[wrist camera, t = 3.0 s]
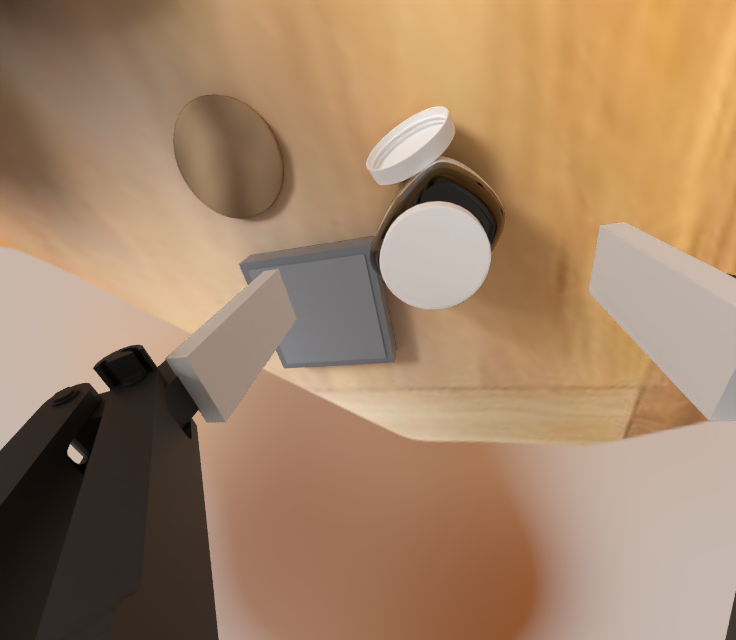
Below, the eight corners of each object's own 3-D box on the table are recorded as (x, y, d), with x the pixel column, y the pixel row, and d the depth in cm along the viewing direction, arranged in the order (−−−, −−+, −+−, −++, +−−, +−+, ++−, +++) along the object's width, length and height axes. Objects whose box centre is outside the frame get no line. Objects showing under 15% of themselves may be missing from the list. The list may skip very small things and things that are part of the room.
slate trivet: (291, 355, 41) (283, 369, 39) (250, 255, 34) (238, 264, 32) (396, 348, 38) (394, 363, 36) (374, 235, 31) (370, 244, 29)
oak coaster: (210, 223, 33) (205, 225, 32) (160, 111, 28) (152, 111, 27) (297, 206, 31) (293, 209, 30) (259, 81, 26) (254, 80, 25)
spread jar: (429, 278, 32) (430, 345, 23) (337, 213, 30) (295, 256, 21) (521, 173, 26) (576, 204, 17) (413, 83, 24) (403, 57, 14)
